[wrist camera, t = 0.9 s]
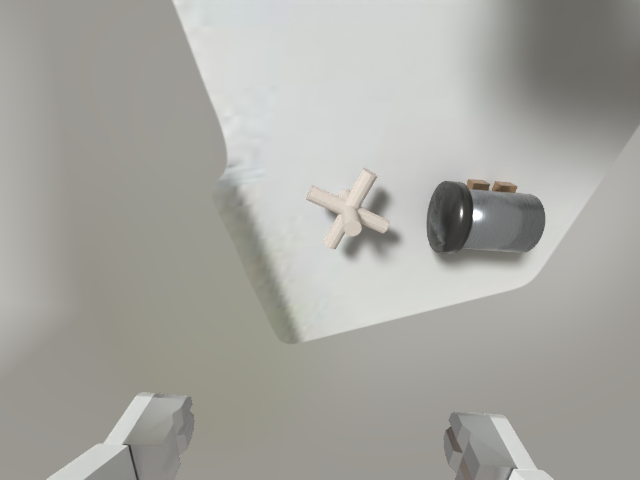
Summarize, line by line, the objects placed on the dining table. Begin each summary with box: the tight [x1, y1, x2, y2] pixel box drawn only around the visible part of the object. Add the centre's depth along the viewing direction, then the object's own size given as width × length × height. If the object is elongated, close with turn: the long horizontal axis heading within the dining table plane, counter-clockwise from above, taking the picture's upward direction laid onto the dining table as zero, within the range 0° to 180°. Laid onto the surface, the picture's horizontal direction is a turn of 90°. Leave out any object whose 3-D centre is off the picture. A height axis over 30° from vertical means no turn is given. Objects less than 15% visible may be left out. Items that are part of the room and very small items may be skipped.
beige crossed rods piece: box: [306, 168, 389, 249], centre depth 36 cm, size 10×10×10 cm
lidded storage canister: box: [427, 179, 545, 254], centre depth 37 cm, size 10×8×9 cm
